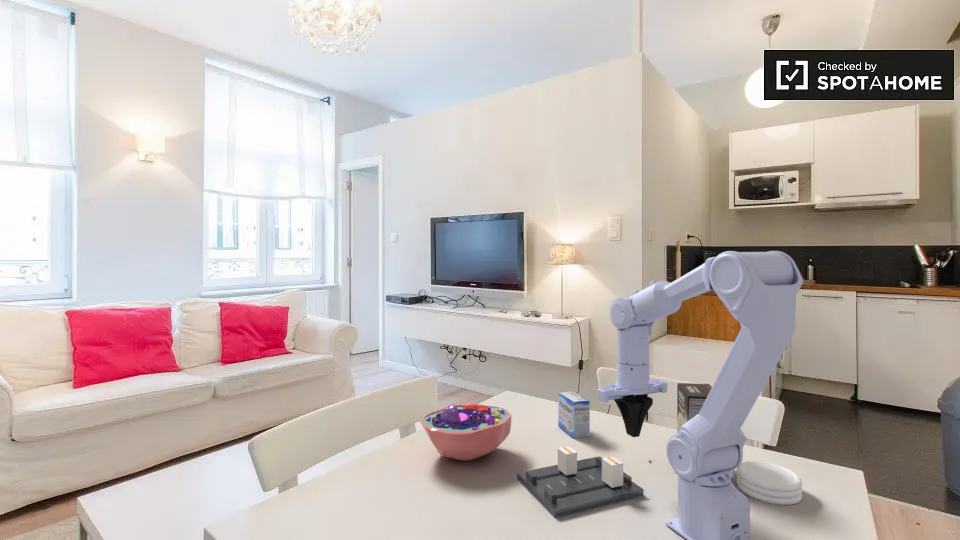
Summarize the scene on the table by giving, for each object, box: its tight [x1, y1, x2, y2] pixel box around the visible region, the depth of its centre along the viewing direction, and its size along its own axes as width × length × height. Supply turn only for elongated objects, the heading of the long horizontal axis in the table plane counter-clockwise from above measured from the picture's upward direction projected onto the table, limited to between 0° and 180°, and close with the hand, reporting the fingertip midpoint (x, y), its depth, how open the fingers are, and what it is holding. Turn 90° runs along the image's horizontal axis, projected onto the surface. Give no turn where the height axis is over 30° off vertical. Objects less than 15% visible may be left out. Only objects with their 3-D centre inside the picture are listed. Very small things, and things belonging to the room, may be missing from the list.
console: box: [516, 456, 645, 519], centre depth 84 cm, size 14×18×2 cm
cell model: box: [419, 403, 512, 462], centre depth 98 cm, size 17×20×11 cm
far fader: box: [557, 446, 578, 475], centre depth 87 cm, size 3×2×4 cm
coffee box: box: [676, 382, 712, 434], centre depth 90 cm, size 9×6×16 cm
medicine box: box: [557, 391, 591, 439], centre depth 110 cm, size 8×4×9 cm, turn 17°
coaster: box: [736, 460, 803, 506], centre depth 82 cm, size 10×10×4 cm
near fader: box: [602, 456, 624, 488], centre depth 82 cm, size 3×2×4 cm
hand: (633, 434), depth 85 cm, fingers closed
